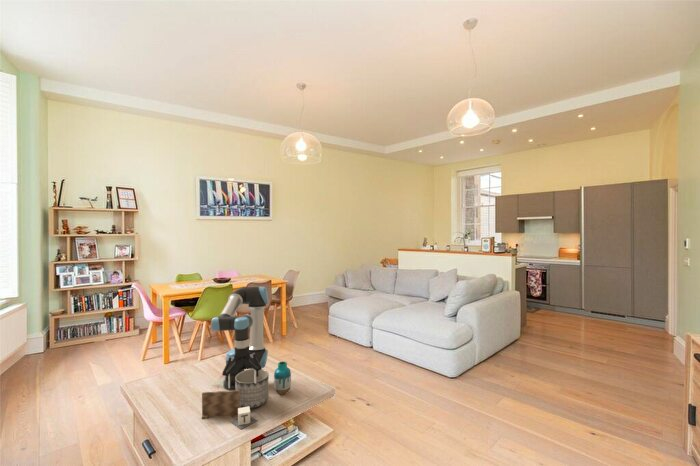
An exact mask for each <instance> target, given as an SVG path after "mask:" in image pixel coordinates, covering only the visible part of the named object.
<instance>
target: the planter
mask: <svg viewBox="0 0 700 466" xmlns="http://www.w3.org/2000/svg"><path fill="white" fill-rule="evenodd" d="M269 375H270V374H269V371H268V370H265V369H264V368H262V369H261V370H259V371H258V377H256V384H255V382H254V369H244V371H242V372H240V373H239V374H237V375H236V377H235V388H236V390H240V408H243V407H248V406H249V407H250V409H255V408H259V407H261V406H263V405H264V404H265V403H267V401H268V399H269V377H270V376H269Z"/></svg>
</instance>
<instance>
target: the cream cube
mask: <svg viewBox="0 0 700 466" xmlns="http://www.w3.org/2000/svg"><path fill="white" fill-rule="evenodd" d="M250 416H251V408H250V407H249V406H248V407H243V408H241V407H240V408H238V416H237V418H238V425H243V424H248V423H250Z"/></svg>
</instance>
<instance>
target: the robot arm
mask: <svg viewBox="0 0 700 466" xmlns="http://www.w3.org/2000/svg"><path fill="white" fill-rule="evenodd" d="M268 304H269V293H268V289H267V287H265V286H242V287H239V288H236V289H235V290H234V291H232V292H231V293H230V295H229V296H228V298H227V302H226V304H225V305H224V307H223V309H222V310H221V312H220V314H219V316H215V317H213V318H212V319H211V320H210V321H211V322H210V327H211V330H212V331H213V332H222V331H223V332H224V331H225V332H226V331H234V348H232V349H230V350H229V351H227V352H226V354H225V366H224V368H223V370H222V373H221V374H222V376H225V377H224V380H223V388H224V389H225V390H226V391H233V390H236V388H235V377H236V375H237V374H239V373H240V372H242V371H245V370H249V369H254V382H255V384H256V377H258V371H259V370H261V369H264V368H265V367H266V365H267V360H268V353H269V351H268V349H266V346H265V344H264V323H265V322H264V320H265V319H264V316H265V313H264V312H265V311H264V309H265V308H266V307H267V305H268ZM242 305H248V308H249V309H250V314H244V315H242V316H235V315H236V313H237V310H238V309H239V307H241V306H242Z"/></svg>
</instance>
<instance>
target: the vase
mask: <svg viewBox="0 0 700 466" xmlns="http://www.w3.org/2000/svg"><path fill="white" fill-rule="evenodd" d="M273 373H274V375H273V386H274V391H275V393H276V394H278V395H285V394H287V393H289V392H290V390H291V386H292V371H291V369H290V368H289V367H288V363H287V361H285V360H284V361H279V362H278V363H277V368H276V369H274V372H273Z"/></svg>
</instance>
